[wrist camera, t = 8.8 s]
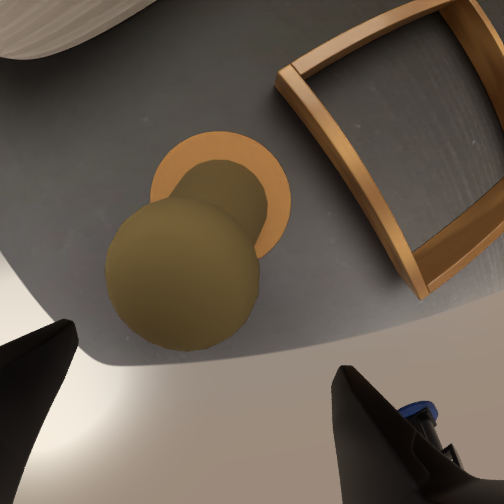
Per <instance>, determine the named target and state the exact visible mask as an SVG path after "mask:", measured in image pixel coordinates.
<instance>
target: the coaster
mask: <svg viewBox="0 0 504 504" xmlns="http://www.w3.org/2000/svg"><path fill="white" fill-rule="evenodd" d="M212 159H216V160H230V161H233V162H236V163H238V164H241V165H243V166H245V167H246V168H247V169H249V170H250V171H251V172H252V173H254V174H255V175H256V177H257V178H258V180H259V181H260V183H261V184H262V186H263V187H264V190H265V194H266V197H267V201H268V208H267V218H266V221H265V223H264V225H263V228H262V230H261V233H260V235H259V237H258V239H257V241H256V244H255V246H254V248H255V251H256V255H257V258H258V259H259V258H261V257H263V256H264V255H265V254H266V253H268V252H269V251H270V250H271V249H272V248H273V247H274V246H275V245H276V243H277V242H278V241H279V239H280V238H281V236H282V234H283V232H284V231H285V228H286V226H287V223H288V220H289V215H290V209H291V194H290V188H289V184H288V181H287V178H286V175H285V173H284V171H283V169H282V167H281V166H280V164H279V162H278V161H277V159H276V158H275V157H274V156H273V155H272V154H271V153H270V152H269V151H268V150H267V149H266V148H265V147H264V146H262V145H261V144H259V143H258V142H256V141H255V140H253V139H251V138H248V137H246V136H243V135H240V134H237V133H232V132H221V131H215V132H206V133H202V134H198V135H195V136H193V137H190V138H188V139H186V140H185V141H183V142H181V143H180V144H178V145H177V146H176V147H174V148H173V149H172V150H171V151H170V152H169V153H168V154H167V155H166V156H165V158H164V159H163V160H162V162H161V163H160V165H159V167H158V169H157V171H156V173H155V176H154V178H153V182H152V186H151V194H150V203H152V202H155V201H158V200H161V199H164V198H167V197H169V195H170V194H171V193H172V191H173V190H174V188H175V187H176V185H177V184H178V183H179V181H180V180H181V178H182V177H183V176H184V174H185V173H186V172H187V171H189V170H190V169H191V168H193V167H194V166H196V165H197V164H199V163H202V162H206V161H209V160H212Z"/></svg>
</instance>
